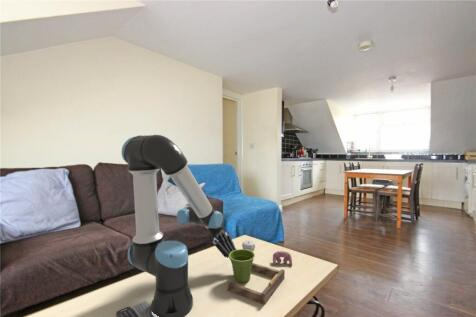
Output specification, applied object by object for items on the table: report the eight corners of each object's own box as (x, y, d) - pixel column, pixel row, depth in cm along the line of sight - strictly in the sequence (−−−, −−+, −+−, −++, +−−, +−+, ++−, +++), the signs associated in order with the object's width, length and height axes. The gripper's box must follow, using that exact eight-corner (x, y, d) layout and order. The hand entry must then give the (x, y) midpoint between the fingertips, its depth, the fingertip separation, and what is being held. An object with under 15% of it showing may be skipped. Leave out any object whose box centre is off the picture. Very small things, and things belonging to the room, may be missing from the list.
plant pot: (226, 274, 109) (225, 251, 109) (249, 270, 113) (249, 247, 113) (233, 288, 98) (233, 262, 98) (259, 283, 102) (259, 258, 101)
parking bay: (228, 290, 97) (228, 279, 97) (251, 268, 115) (251, 259, 114) (264, 304, 88) (264, 292, 88) (284, 278, 106) (284, 268, 106)
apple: (244, 249, 137) (244, 238, 137) (256, 251, 135) (257, 239, 134) (239, 254, 130) (239, 243, 130) (253, 257, 127) (253, 245, 127)
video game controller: (291, 266, 120) (290, 251, 123) (292, 266, 116) (292, 251, 119) (272, 265, 121) (272, 251, 124) (273, 265, 117) (272, 250, 120)
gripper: (216, 224, 124) (240, 264, 117) (200, 232, 113) (226, 277, 106) (224, 217, 121) (250, 258, 114) (209, 224, 110) (237, 270, 103)
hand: (239, 267), depth 110 cm, fingers closed
